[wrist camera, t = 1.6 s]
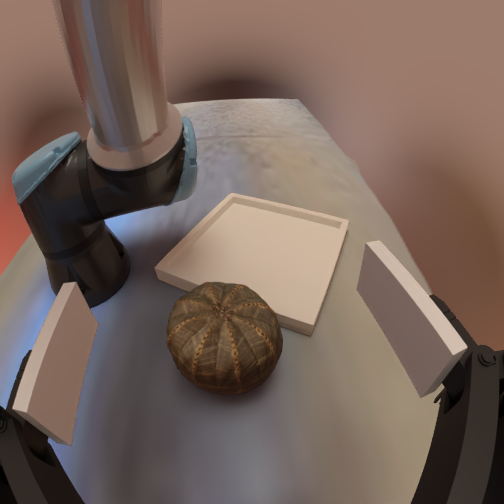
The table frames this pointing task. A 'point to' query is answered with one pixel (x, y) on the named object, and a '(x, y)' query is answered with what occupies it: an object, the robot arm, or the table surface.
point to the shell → (224, 337)
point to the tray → (262, 255)
